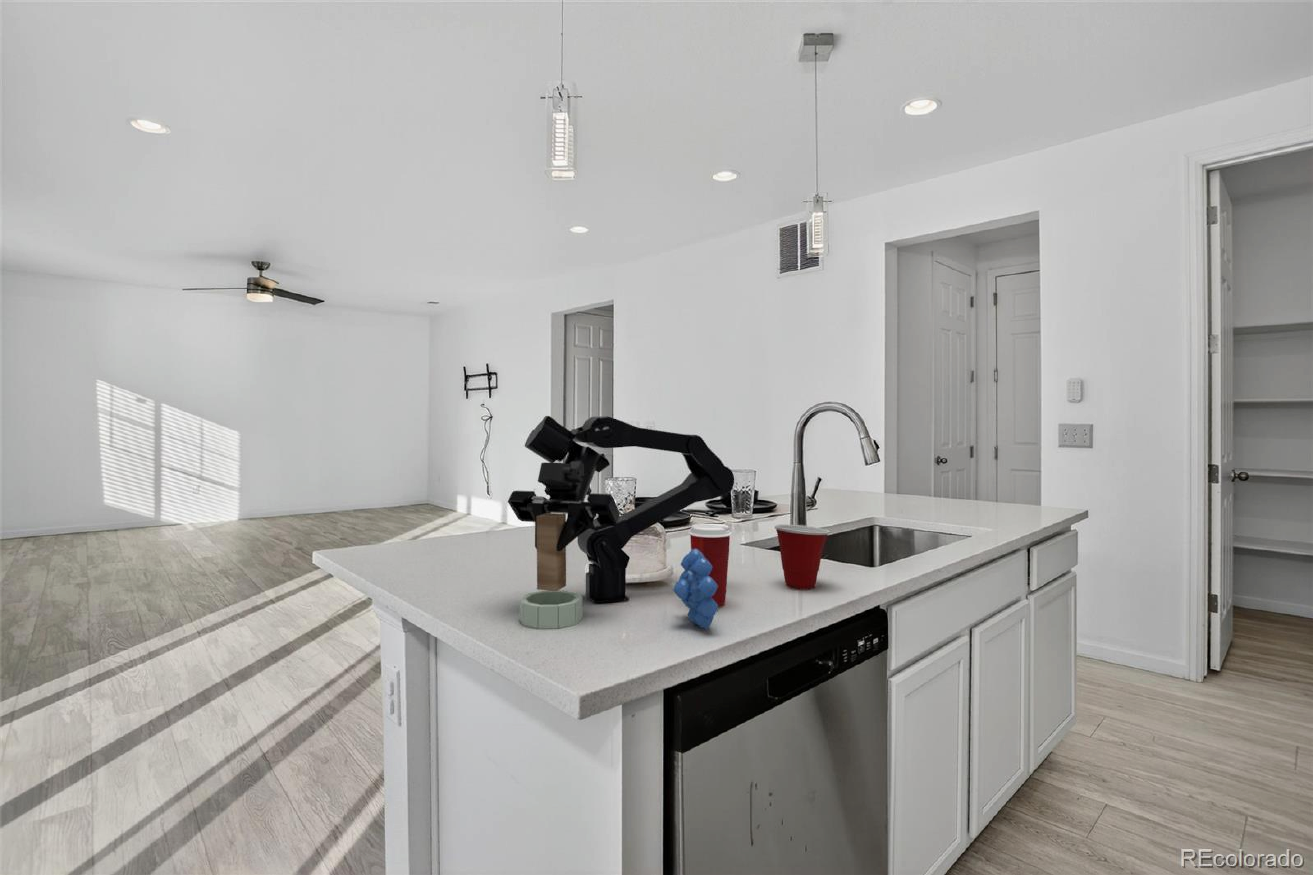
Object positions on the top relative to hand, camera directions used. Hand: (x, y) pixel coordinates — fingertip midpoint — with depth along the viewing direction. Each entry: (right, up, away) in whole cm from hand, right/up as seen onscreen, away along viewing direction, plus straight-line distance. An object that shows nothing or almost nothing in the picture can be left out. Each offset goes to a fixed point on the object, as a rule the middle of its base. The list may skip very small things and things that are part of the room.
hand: (547, 549), depth 106 cm
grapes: (+23, -12, -1) cm, 26 cm away
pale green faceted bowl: (0, -12, +2) cm, 12 cm away
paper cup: (+27, -12, +11) cm, 32 cm away
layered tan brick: (0, -7, +2) cm, 7 cm away
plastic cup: (+47, -12, +25) cm, 54 cm away
